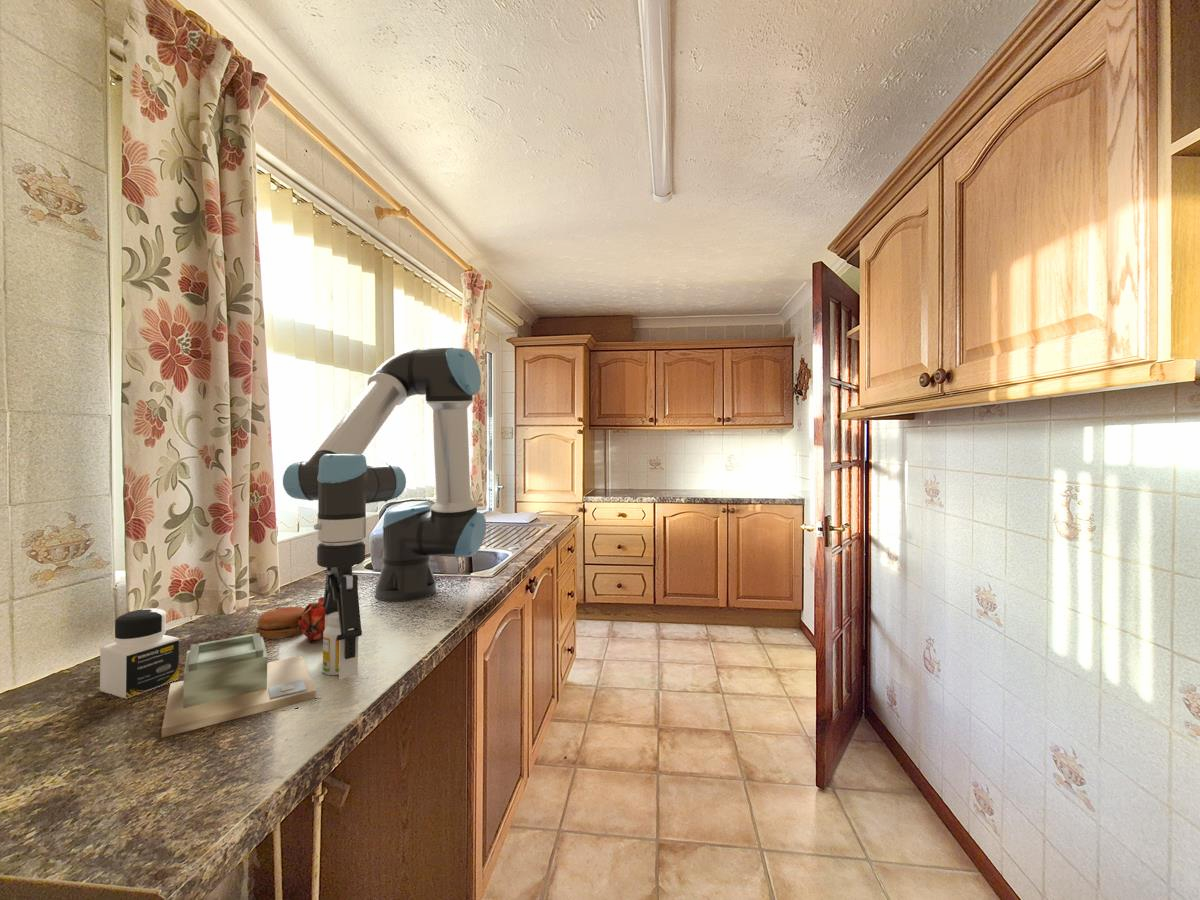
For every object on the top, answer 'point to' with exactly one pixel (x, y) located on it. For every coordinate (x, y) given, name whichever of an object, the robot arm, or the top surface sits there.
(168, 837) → the top surface
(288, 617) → the burger
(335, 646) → the supplement bottle
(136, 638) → the medicine bottle
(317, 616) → the dragon fruit
